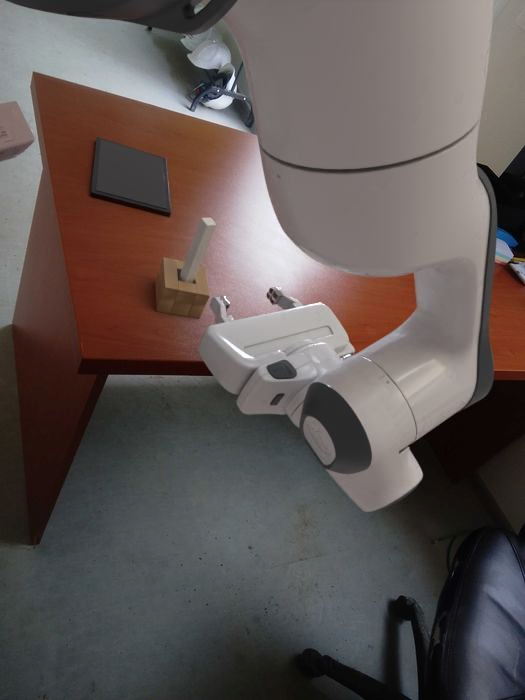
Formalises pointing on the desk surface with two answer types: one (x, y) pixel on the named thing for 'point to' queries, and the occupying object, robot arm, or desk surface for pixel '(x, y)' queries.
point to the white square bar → (197, 250)
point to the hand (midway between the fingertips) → (245, 294)
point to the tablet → (130, 177)
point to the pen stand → (180, 290)
